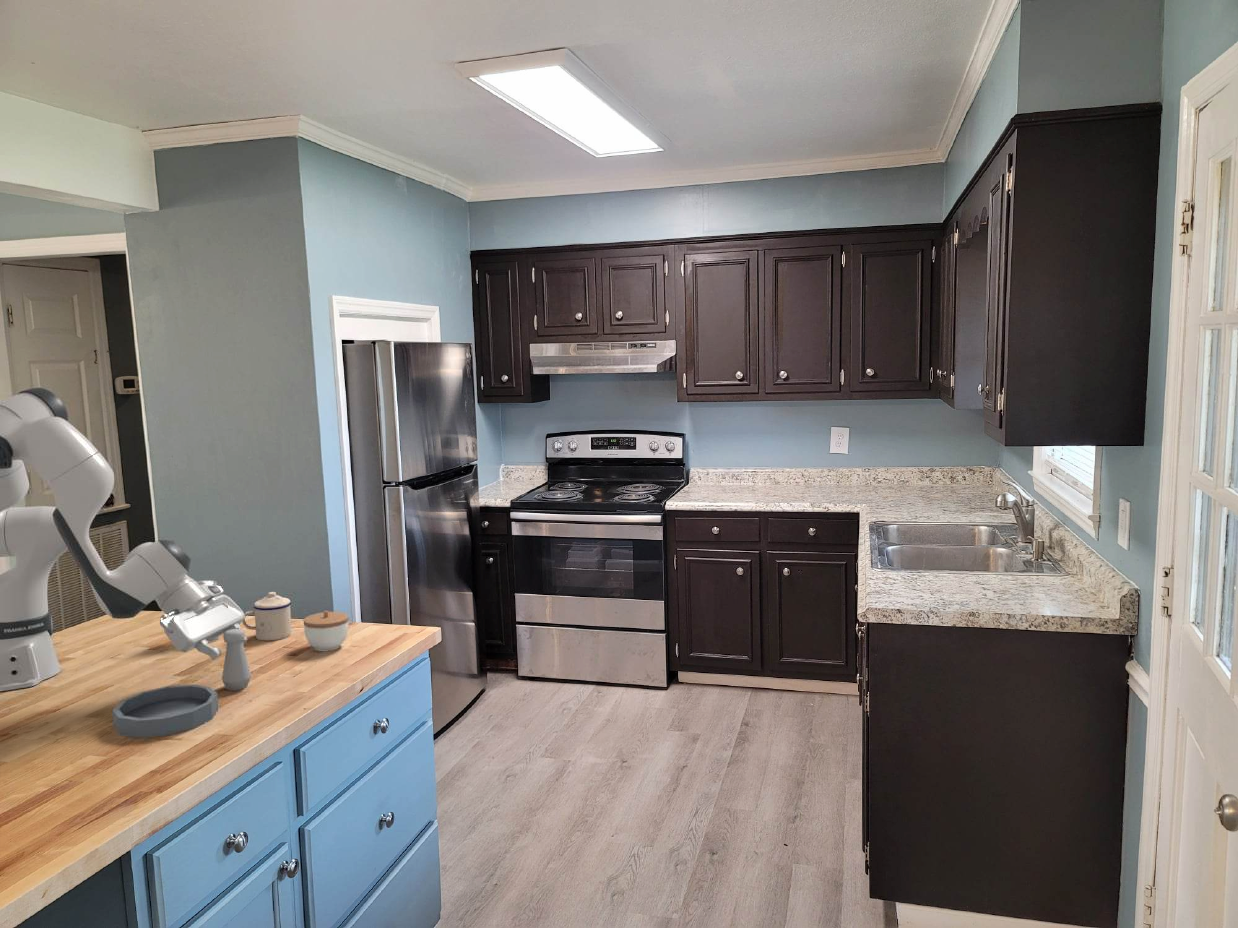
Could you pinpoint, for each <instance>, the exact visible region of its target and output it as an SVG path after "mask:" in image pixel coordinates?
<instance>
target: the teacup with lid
mask: <svg viewBox="0 0 1238 928" xmlns="http://www.w3.org/2000/svg"><path fill="white" fill-rule="evenodd" d="M291 604H292V602H291V600H290V598H287V597H282V596H280V595H278V594H277V593H276V592H275V591H271V592H270V591H269V592H268V593H267V596H265V597H263V598H261V599H259V600H257V601H256V602H254V604H253V608H254V610H248V611H246V612H245V613H244V615H245V619H244V620H243V621H242V622H241V623H242V625H243V626H244V628H246V629H247V630H251V631H253V630H255V637H256V639H258V640H260V641H264V642H265V641H278V639H279V640H282V639H285V638H288V637H290V636H291V634H292V619H291V616H292V615H291ZM253 614H254V619H255V621H254V623H255V625H254V626H253V625H252V626H251V625H249V624H247V622H246V617H247V616H249V615H253Z"/></svg>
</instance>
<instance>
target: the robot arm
mask: <svg viewBox="0 0 1238 928" xmlns="http://www.w3.org/2000/svg"><path fill="white" fill-rule="evenodd" d="M68 420H69V414H68V410H67V408H66V406H65V403H64V402H63V401H62V399H61V398H60V397H59V396H58V395H57V394H55V393H53V392H52V391H50V390H48V389H46V388H44V387H32V388H28V389H24V390H21V391H19V392H18V393H17V394H15V395H12V396H9V397H7V398H4V399H2V400H0V558H7V557H10V558H11V557H14V558H15V561H16V563H15V566H14V567H12V568H10V569H9V570H6V571H4V572H2V573H1V574H0V692H4V691H11V690H18V689H23V688H30V687H34V686H36V685H38V684H40V683H41V682H42V681H45V680H46V679H49V678H52V677H54V676H56V675H57V674H59V673H60V672H61V671H62V667H61V666H62V665H60V662H59V660H58V657H57V654H56V651H55V646H54V642H53V638H52V635H53V627H54V626H53V618H52V613H51V611H50V610H49V603H48V602H49V601H48V584H49V583H48V581H49V576H50V574H51V570H52V569H53V566H54V565H55V563H56V562H57V560H58V559H59V558H60V557H62V555H63V554H64V553H65V552H67V551H69V552H70V554H71V556H72V557H73V558H74V560H75V562H76V564H77V566H78V568H79V569H80V571H81V572H82V574H83V575H84V577H85V578H86V580H87V582H88V584H89V586H90V587H91V590H92V592H93V595H94V598H95V600H96V603H97V604H98V606H99V608H100V609H101V610H102V612H104V613H105V614H107V615H108V616H110V617H111V618H112V619H121V620H122V619H124V620H125V619H132V618H135V617H136V616H137V615H138V614H139V613H140V612H141V611H143V610H144V609H145V608H146V607H147V606H148V605H149V604H150V603H151V602H152V601H155V602H156V603H157V606H158V607H159V609H160V610H161V611H163V613H164V614H162V615H161V616H160V619H159V624H160V626H161V627H162V628H163V630H164V633H165V635H166V637H167V638H168V639H169V640H170V642H171V643H172V644H173V646H174V647H175V648H176V649H177V651H180V652H182V653H187V652H189V651H192V650H194V649H195V650H197V651H198V652H200V653H202V654H205V655H206V656H208V657H209V658H211V660H213V661H214V660H216V659H218V658H220V657H221V655H222V653H223V652H222V651H221V650H220V649H219V648H218V647H213V646H212V645H210V644H209V643H208V642H207V641H209V640H211V639H213V638H215V637H217V636H219V637H220V636H221V635H224V633H225V632H226V631H228V630H231V629H242V627H241V625H240V624H241V623H242V621H243V620H244V619H245V620H246V617H245V615H244V610H243V609H242V608H240V606H239V605H238V604H237V603H236V602H235V601H234V600H233V599H232V598H231V597H230V596H228V595H226V594H223V593H224V589H223V588H222V586H220V585H199V584H198V583H197V582H196V580H195V579H194V578H191V576H189V575H187V574H188V573H189V572H190V571H189V570H190V566H191V563H192V562H191V561H192V560H191V557H189V555H187V554H186V552H184V551H183V550H182V549H181V547H179V546H178V545H177V544H176V542H175V541H173V540H168V539H157V540H156V541H154V542H151V541H149V542H144V543H141V544H139V545H137V546H136V547H134V548H133V549H131V550H130V551H129V552H128V554H127V556H126V558H125V559H124V562H123V563H122V564H120V566H118V567H117V568H115V569H113V570H109V569H108V568H107V566H106V564H105V563H104V561H103V560H102V558H101V556H100V555H99V552H98V551H97V550H96V548H95V545H94V544H93V542H92V541H91V539H90V534H89V533H90V527H91V525H92V523H93V521H94V519H95V517H96V516H97V515H98V513H99V512H100V511H101V509H102V508H103V506H104V505H105V503H106V502H107V501H108V499H109V497H110V496H111V494H112V491H113V489H114V485H115V474H114V470H113V469H112V468H111V465H110V464H109V463H108V461H107V459H105V457H104V456H103V455H102V454H101V452H100V451H99V450H98V448H96V447H95V446H94V444H93V443H92V442H91V441H89V439H88V438H87V437H86V436H85V435H84V434H83V433H81V431H79V430H78V429H77V428H76V427H75V426H74V425H72V424H71V423H70V422H68ZM24 462H26V463H28V464H29V465H30V466H31V467H32V468H33V469H34V471H35V472H36V474H38V475H39V477H40V478H41V479H42V480H43V481H44V483H45V484H46V485H47V487H48V488H49V489H50V490H51V492H52V495H53V497H54V501H55V506H48V505H36V506H34V505H33V506H21V507H20V506H18V507H17V506H16V507H14V506H15V505H17V504H19V503H20V501H22V500H23V499H24V498H25V497H26V495H27V494H28V492H29V489H30V481H29V477H28V473H27V471H26V470H27V469H26V467H25V464H24ZM247 640H248V639H247V637H246V636H245V639H244V640H243V641H242V642H243V645H244V644H245V643H246V642H247Z"/></svg>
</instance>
